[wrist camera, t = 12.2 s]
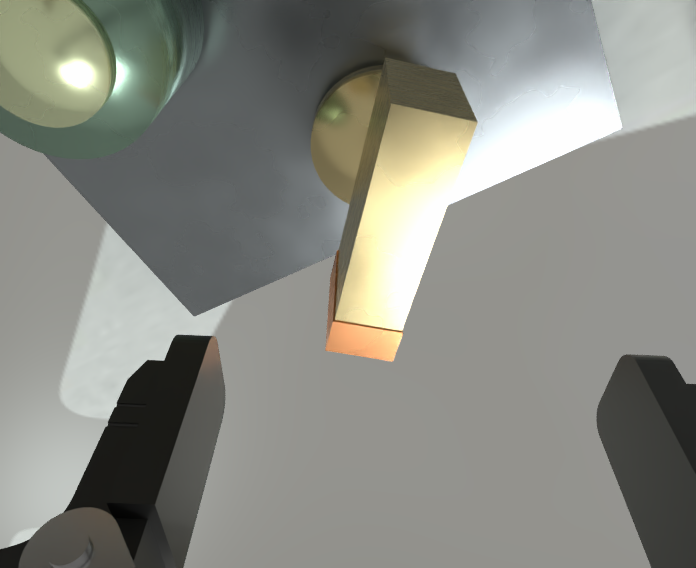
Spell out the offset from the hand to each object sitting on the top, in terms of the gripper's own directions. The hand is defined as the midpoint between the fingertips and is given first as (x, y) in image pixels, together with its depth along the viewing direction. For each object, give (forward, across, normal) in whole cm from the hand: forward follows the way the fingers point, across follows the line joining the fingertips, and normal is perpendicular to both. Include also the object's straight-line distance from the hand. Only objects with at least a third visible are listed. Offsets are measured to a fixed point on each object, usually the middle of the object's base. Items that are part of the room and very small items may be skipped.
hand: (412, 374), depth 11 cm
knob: (+12, 0, 0) cm, 12 cm away
